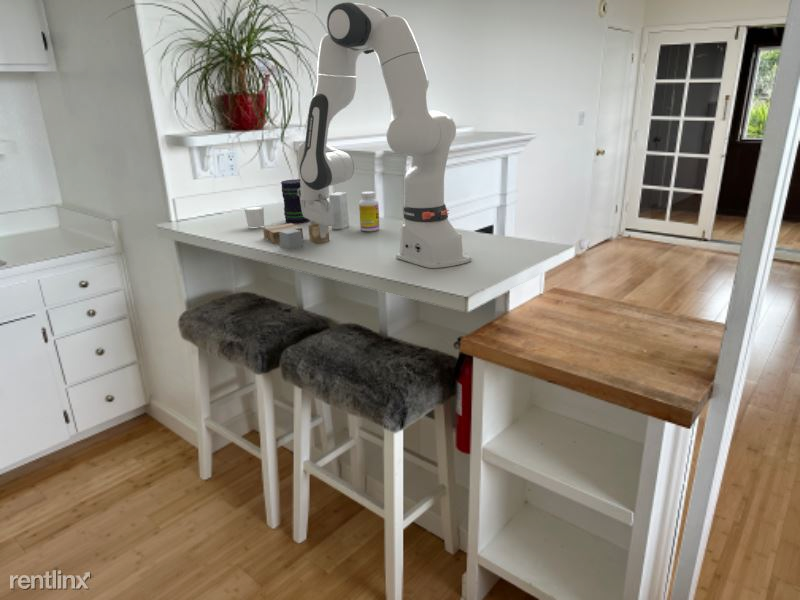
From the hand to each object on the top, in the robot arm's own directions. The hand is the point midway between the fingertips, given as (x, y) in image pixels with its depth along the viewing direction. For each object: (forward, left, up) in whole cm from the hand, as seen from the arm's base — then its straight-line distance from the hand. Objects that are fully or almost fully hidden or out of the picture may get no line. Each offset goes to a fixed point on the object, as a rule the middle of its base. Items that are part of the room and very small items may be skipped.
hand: (319, 235), depth 183 cm
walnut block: (+10, +9, -2) cm, 14 cm away
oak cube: (0, 0, -2) cm, 2 cm away
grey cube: (-2, +10, -2) cm, 10 cm away
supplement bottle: (+4, -20, -2) cm, 20 cm away
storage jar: (+34, -4, -2) cm, 34 cm away
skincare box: (+14, -13, -2) cm, 19 cm away
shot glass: (+34, +12, -2) cm, 36 cm away
